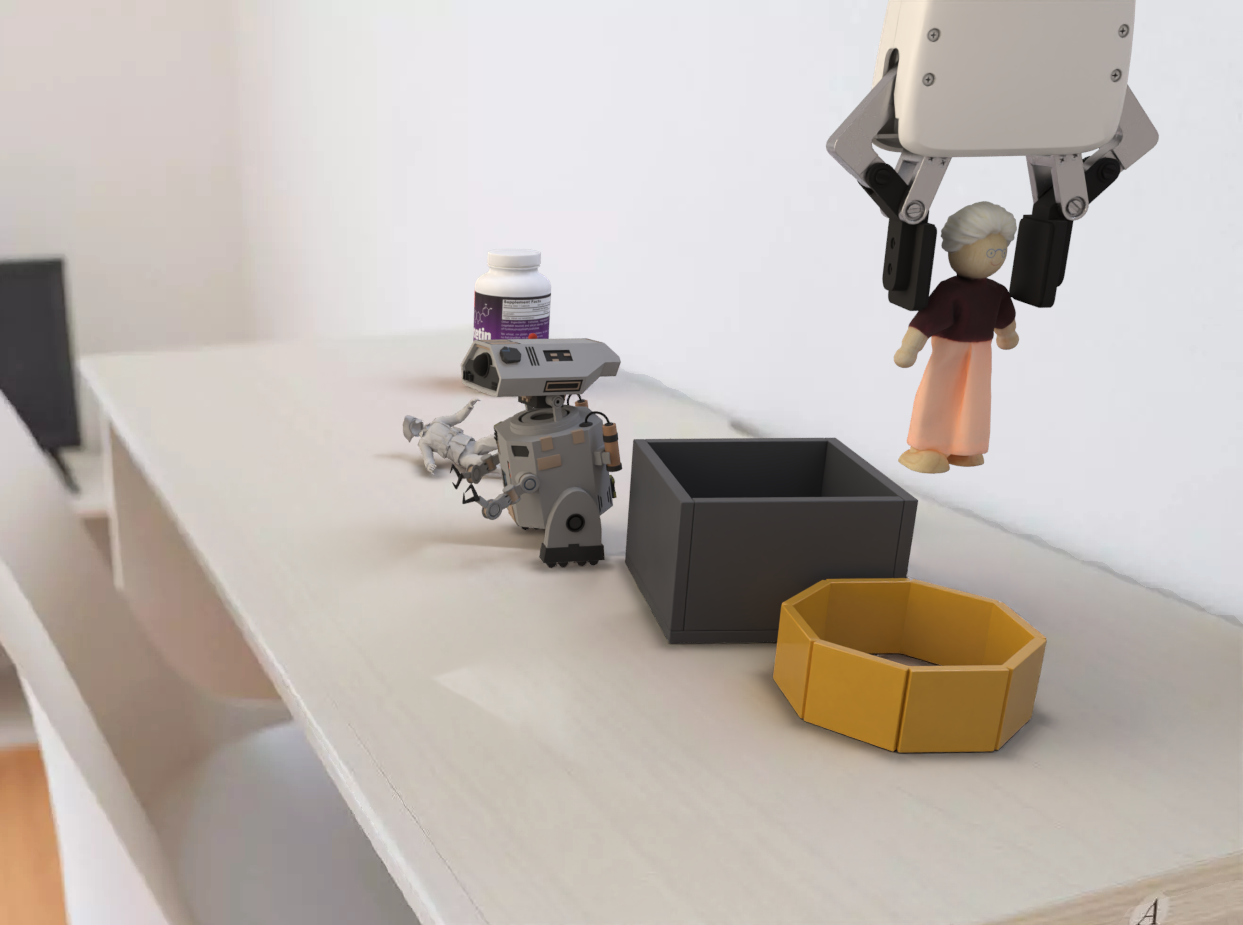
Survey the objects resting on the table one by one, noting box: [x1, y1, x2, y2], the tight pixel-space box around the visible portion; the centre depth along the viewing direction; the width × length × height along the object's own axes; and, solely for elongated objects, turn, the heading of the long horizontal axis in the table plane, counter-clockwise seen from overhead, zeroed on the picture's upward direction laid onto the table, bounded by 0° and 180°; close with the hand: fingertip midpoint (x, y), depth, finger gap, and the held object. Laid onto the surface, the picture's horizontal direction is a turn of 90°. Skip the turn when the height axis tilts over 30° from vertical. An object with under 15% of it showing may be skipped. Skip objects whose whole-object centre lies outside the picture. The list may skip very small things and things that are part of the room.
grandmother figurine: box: [893, 200, 1020, 475], centre depth 62 cm, size 8×4×13 cm, turn 127°
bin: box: [624, 437, 919, 645], centre depth 80 cm, size 14×14×9 cm
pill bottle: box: [472, 248, 552, 342], centre depth 135 cm, size 8×8×14 cm
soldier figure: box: [402, 397, 502, 476], centre depth 109 cm, size 8×5×12 cm
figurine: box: [449, 333, 623, 569], centre depth 88 cm, size 9×12×15 cm
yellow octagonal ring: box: [772, 577, 1048, 754], centre depth 68 cm, size 12×12×4 cm
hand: (968, 300), depth 61 cm, fingers closed on grandmother figurine, 5 cm apart
